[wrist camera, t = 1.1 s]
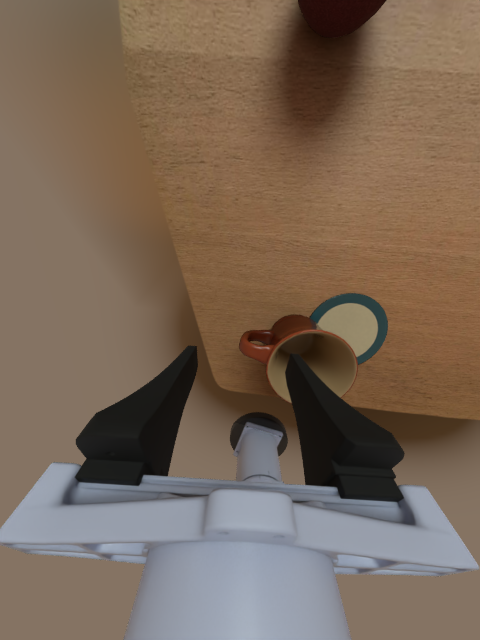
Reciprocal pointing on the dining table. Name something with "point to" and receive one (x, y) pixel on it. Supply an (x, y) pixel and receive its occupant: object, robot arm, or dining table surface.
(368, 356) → the plate
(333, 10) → the decorative ball
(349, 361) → the mug
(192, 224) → the dining table surface
